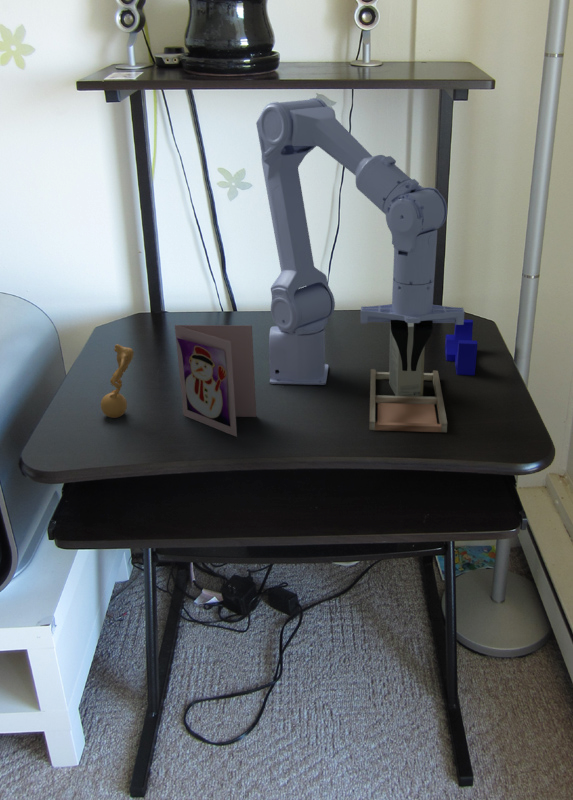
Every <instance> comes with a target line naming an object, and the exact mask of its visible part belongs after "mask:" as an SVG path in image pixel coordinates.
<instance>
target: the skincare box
mask: <svg viewBox="0 0 573 800" xmlns="http://www.w3.org/2000/svg"><path fill="white" fill-rule="evenodd" d="M413 331H414V323H408V344H407V363H408V367H407V371H402V360H401V356H400V352H399V349H398V346H397V344H396V341H395V339H394V337H393V335H392V332H391V324H390V323H389V370H388V372H389V379H388V380H389V381H388V383H389V387H390V388H391V390H392V392H393V394H394V396H424V380H423V379H424V373H425V347H426V345H425V346H424V348H423V350H422V352H421V355H420V357H419V360H418V364H417V368H416V371H411V355H412V348H413Z"/></svg>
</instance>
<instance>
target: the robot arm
mask: <svg viewBox="0 0 573 800" xmlns="http://www.w3.org/2000/svg"><path fill="white" fill-rule="evenodd" d="M255 124H256V129H257V135H258V136H257V137H258V141H259V147H260V151H261V152H260V153H261V165H262V171H263V177H264V182H265V187H266V189H265V190H266V193H267V200H268V205H269V209H270V210H269V211H270V216H271V223H272V227H273V232H274V233H273V234H274V239H275V243H276V244H275V245H276V250H277V255H278V261H279V266H280V268H279V269H280V274H279V275H278V277H277V278H276V279H275V281H274V282H273V283H272V285H271V287H270V294H271V302H270V314H271V318H272V321H273V322H274V324H275V325H273V326H271V327H270V329H269V337H268V342H269V343H268V354H269V355H268V357H269V360H268V361H269V363H268V366H269V384H272V385H273V384H274V385H275V384H276V385H306V386H308V385H310V386H313V385H315V386H316V385H317V386H325V385H326V384H327V379H328V372H329V364H327V363H326V349H325V348H326V332H325V331H326V325H328V324H329V323H328V322H329V320H328V319H329V318H331V316H332V315H333V313H334V311H335V307H336V304H335V303H336V302H335V296H334V295H333V291H331V288H330V286H329V283H328V277H327V275H326V274H325V273H324V272H323V271H321V270H320V269H318V268H316V266H315V261H314V256H313V250H312V244H311V238H310V233H309V226H308V221H307V215H306V214H307V213H306V209H305V204H304V203H305V202H304V196H303V192H302V191H303V190H302V184H301V178H300V174H299V173H300V172H299V167H300V165H301V163H302V162H303V160H304V159H305V157H306V156H307V155H308V154H309V153H310V152H312V151H313V150H314V149H315V148H316V147H318V148H320V149H321V150H322V151H323V152H325V153H326V154H327V155H329V156H330V157H331V158H333V159H334V160H335V161H336V162H338V163H339V164H340V165H342V166H343V168H345V169H347V171H349V172H350V173H352V174H353V175H354V176H355V187H356V189H357V190H358V191H359V192H360V193H361V194H362V195H364V196H365V197H366V199H368V200H369V201H371V203H372V204H373V205H374V206H375V207H377V208H378V210H380V211H381V212H382V213H383V214H384V215H385V221H386V224H387V228H388V230H389V231H390V234H391V245H393V268H392V269H393V270H392V271H393V274H392V293H391V295H392V296H391V297H392V299H391V300H392V301H391V304H390V303H389V304H383V305H381V304H379V305H372V306H371V305H368V306H365V305H364V306H360V324H368V323H389V325H390V324H391V332H392V335H393V337H394V339H395V341H396V344H397V346H398V349H399V352H400V356H401V360H402V371H407V367H408V363H407V344H408V323H414V331H413V348H412V355H411V371H416V368H417V364H418V360H419V357H420V355H421V352H422V350H423V348H424V346H425V347H426V344H427V342H428V340H429V339H430V338H431V336H432V334H433V331H434V328H433V324H454V325H455V324H456V325H463V324H464V319H465V308H464V307H456V306H455V307H454V306H446V305H445V306H444V305H438V304H433V303H434V291H435V290H434V289H435V275H436V274H435V273H436V262H437V261H436V258H437V245H438V244H437V241H438V230H439V228H441V227H442V226H443V225H444V223H445V222H446V220H447V217H448V206H447V202H446V199H445V198H444V196H443V194H441V193H440V191H439V190H438V188H436V187H431V186H427V187H423V186H422V185H420V182H419V181H418V180H416V179H415V178H410V176H408V174H406V173H405V172H404V171H403V170H402V169H400V167H398V166H397V165H396V162H397V160H396V159H394V158H393V157H392V156H391V155H389V156H385V155H384V154H378V155H374V156H373V155H372V154H371V153H370V152H369V151H368V150H367V149H366V148H365V147H364V146H363V145H362V144H361V143H360V142H359V141H358V140H357V139H356V138H355V137H354V136H353V135H352V134H351V133H350V132H349V130H348V129H347V128H346V127H345V126H344V125H343V124H342V123H341V122H340V121H339V120H338V119H337V118H336V112H335V109H334V108H332V107H330V106H328V105H327V104H326V102H325V101H324V100H322V99H320V98H317V97H312V98H309V99H302V100H292V101H281V102H279V101H272V102H269V103H267V104H266V105H265V106H264V107H263V109H262V111H261V113H260V115H259V116H258V119H257V121H256V123H255Z"/></svg>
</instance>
